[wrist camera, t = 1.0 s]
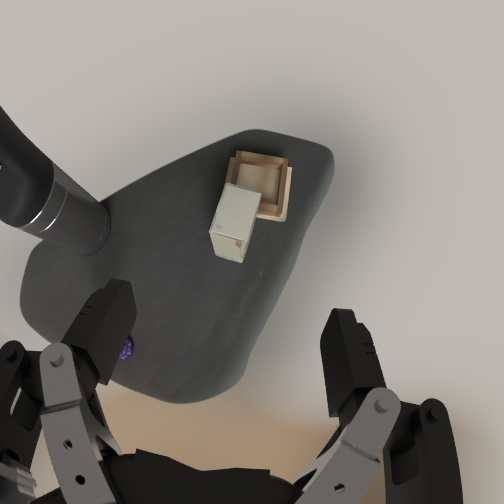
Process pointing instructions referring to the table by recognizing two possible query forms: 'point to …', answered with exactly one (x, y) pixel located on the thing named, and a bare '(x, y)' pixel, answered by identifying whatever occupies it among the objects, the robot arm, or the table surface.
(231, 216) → the skincare box
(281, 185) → the wooden tray
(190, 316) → the table surface
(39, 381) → the robot arm
